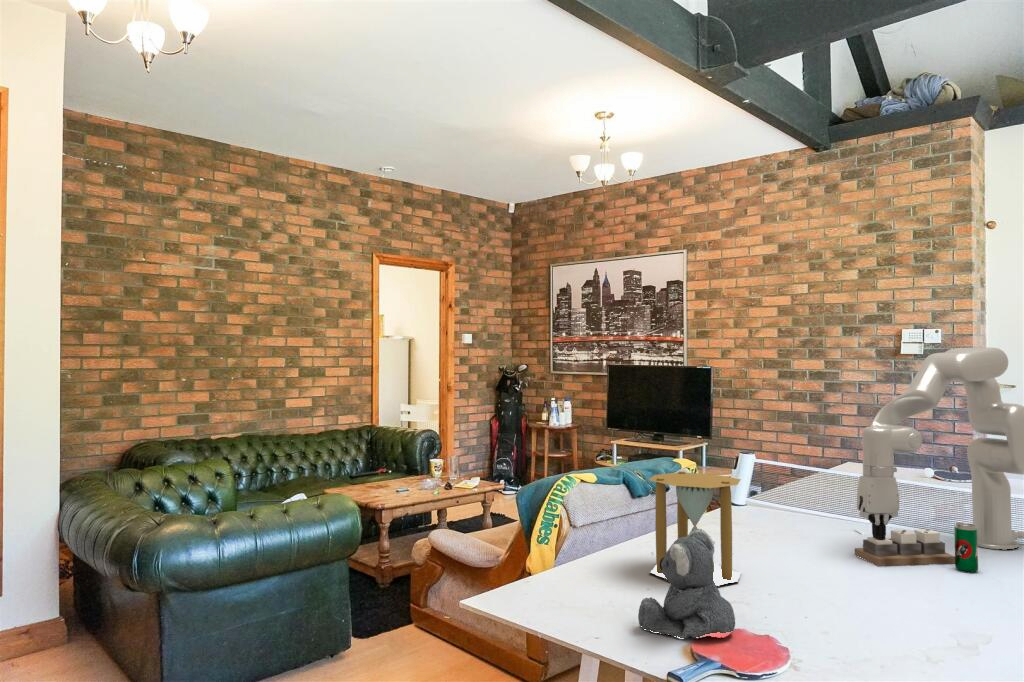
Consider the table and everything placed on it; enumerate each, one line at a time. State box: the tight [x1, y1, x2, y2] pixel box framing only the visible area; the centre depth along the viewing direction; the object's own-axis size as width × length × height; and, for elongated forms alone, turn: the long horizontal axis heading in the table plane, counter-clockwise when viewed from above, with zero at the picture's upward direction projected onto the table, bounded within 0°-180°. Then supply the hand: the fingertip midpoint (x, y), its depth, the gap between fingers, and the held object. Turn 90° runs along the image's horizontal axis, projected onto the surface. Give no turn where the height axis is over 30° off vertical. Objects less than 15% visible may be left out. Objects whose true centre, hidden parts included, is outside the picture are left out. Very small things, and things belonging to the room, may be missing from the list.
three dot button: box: [890, 529, 916, 544], centre depth 192 cm, size 4×4×4 cm
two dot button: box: [913, 528, 941, 543], centre depth 193 cm, size 4×4×4 cm
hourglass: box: [647, 470, 742, 580], centre depth 180 cm, size 24×22×25 cm
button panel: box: [854, 538, 955, 567], centre depth 192 cm, size 22×11×5 cm, turn 96°
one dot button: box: [867, 536, 892, 545], centre depth 192 cm, size 4×4×4 cm
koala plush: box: [637, 528, 736, 639], centre depth 144 cm, size 17×18×20 cm
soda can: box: [953, 522, 979, 574], centre depth 182 cm, size 5×5×12 cm
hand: (879, 538), depth 192 cm, fingers closed
